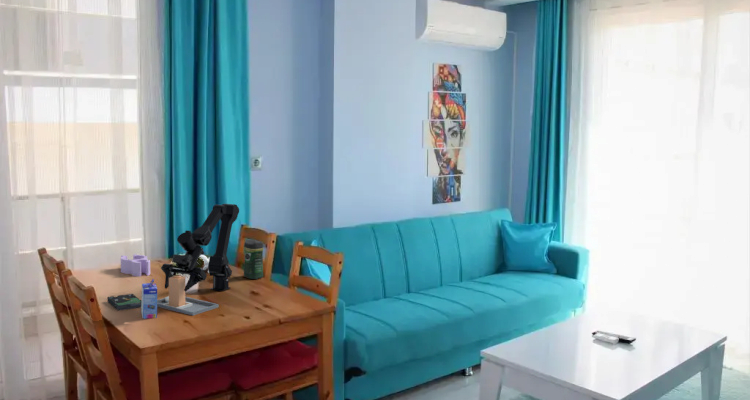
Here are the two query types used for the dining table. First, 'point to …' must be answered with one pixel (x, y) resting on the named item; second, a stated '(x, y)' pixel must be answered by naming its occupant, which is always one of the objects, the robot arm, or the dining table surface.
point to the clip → (135, 265)
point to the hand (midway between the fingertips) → (175, 289)
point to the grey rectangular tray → (188, 306)
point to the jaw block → (176, 291)
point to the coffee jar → (253, 259)
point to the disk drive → (124, 302)
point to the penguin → (205, 262)
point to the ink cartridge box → (149, 300)
